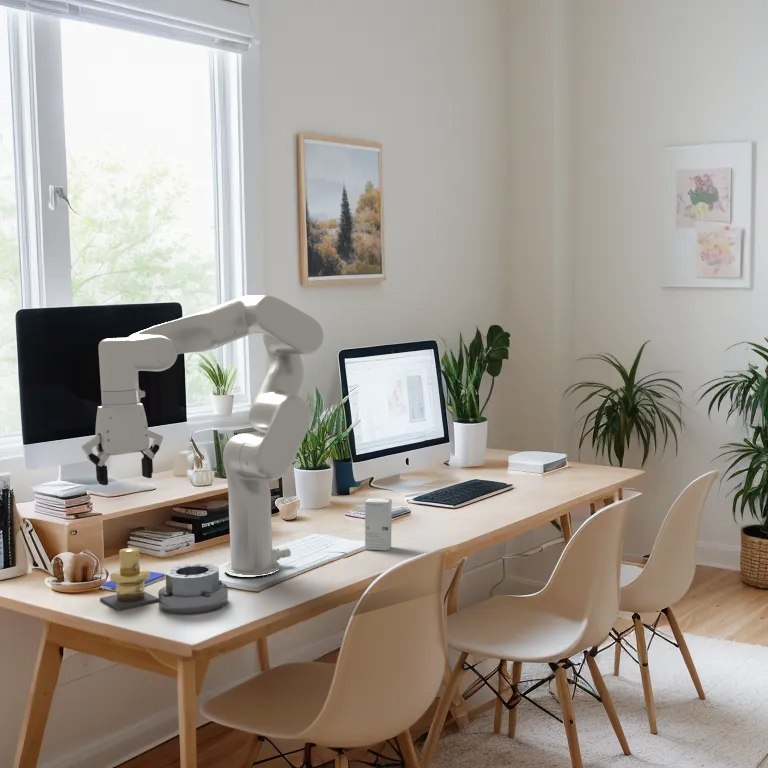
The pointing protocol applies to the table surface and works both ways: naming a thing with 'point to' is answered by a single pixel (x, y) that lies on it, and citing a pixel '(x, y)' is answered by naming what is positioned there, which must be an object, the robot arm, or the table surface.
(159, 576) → the hard drive
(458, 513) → the table surface
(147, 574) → the brass flanged shaft
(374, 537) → the skincare box
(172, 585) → the housing
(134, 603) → the mat
